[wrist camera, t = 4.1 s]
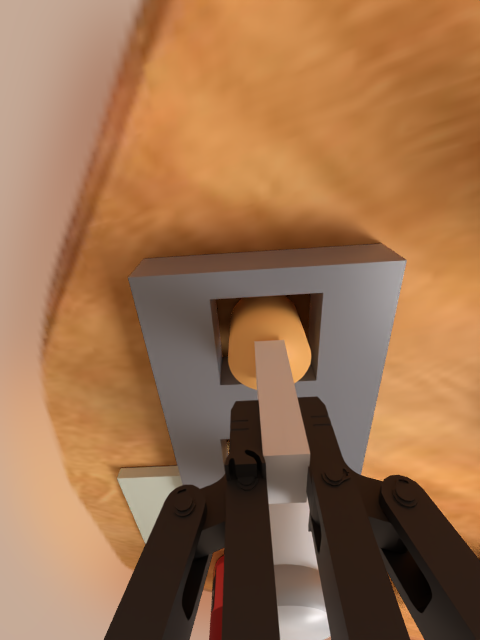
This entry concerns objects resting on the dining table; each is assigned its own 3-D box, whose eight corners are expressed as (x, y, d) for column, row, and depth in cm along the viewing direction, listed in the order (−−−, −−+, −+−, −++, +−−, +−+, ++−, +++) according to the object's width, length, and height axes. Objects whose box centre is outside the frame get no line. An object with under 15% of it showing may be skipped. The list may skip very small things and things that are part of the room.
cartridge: (296, 454, 27) (332, 646, 17) (238, 456, 27) (238, 648, 17) (298, 412, 25) (342, 608, 14) (234, 415, 25) (230, 611, 14)
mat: (265, 535, 34) (266, 546, 33) (150, 540, 34) (148, 550, 34) (262, 462, 28) (263, 472, 27) (120, 468, 28) (116, 478, 27)
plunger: (297, 348, 21) (309, 389, 17) (232, 351, 21) (231, 392, 17) (299, 288, 19) (313, 321, 15) (227, 293, 19) (224, 326, 15)
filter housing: (343, 475, 29) (353, 508, 26) (194, 481, 29) (190, 514, 26) (382, 243, 18) (406, 260, 15) (143, 258, 18) (127, 277, 16)
